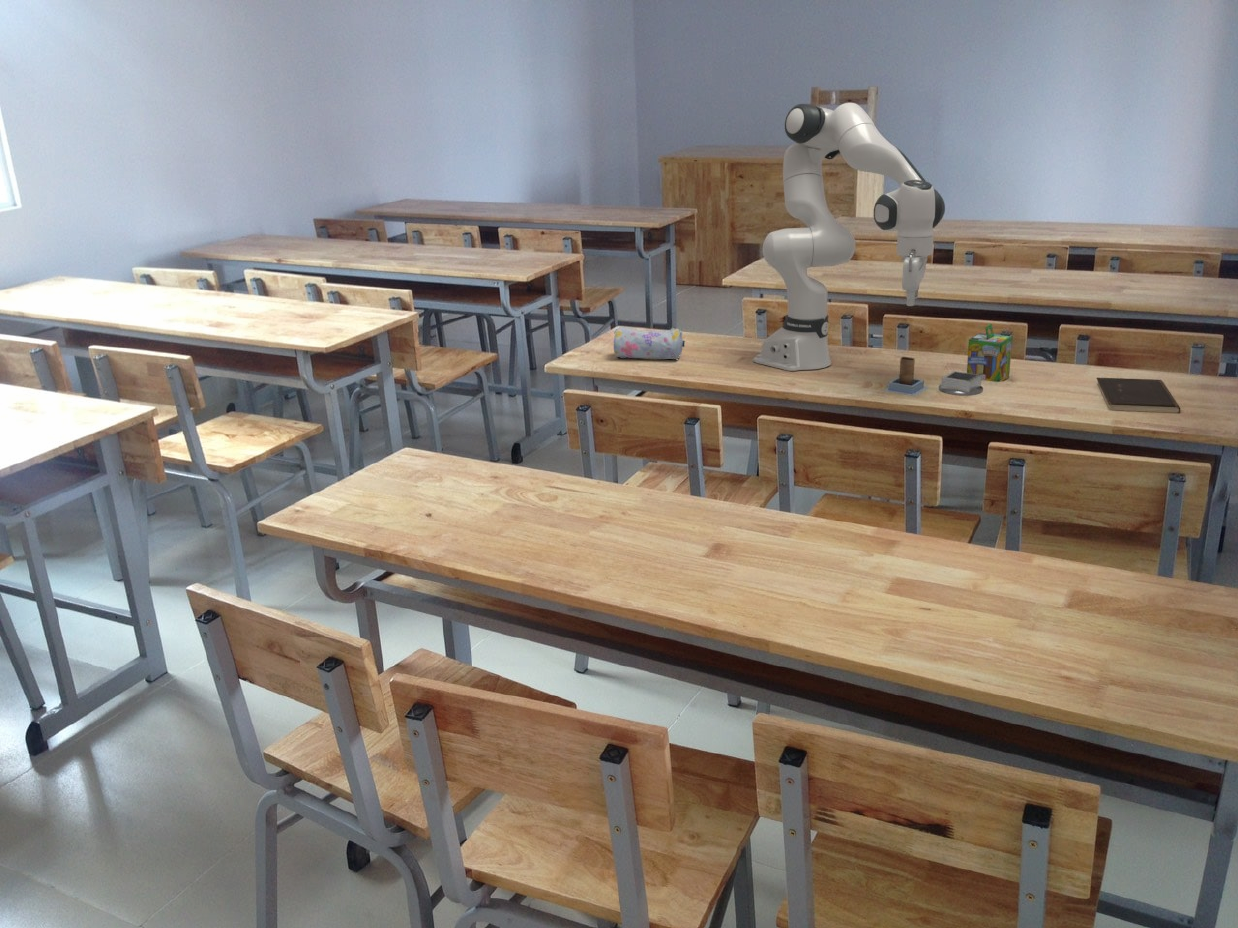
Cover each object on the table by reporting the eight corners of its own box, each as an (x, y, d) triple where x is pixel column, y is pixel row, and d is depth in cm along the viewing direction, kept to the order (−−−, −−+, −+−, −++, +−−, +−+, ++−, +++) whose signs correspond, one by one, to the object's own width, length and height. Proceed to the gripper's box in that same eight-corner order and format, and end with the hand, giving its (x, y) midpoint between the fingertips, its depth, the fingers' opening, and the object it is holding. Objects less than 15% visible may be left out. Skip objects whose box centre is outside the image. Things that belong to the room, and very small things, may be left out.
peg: (896, 389, 283) (898, 358, 280) (902, 386, 286) (904, 355, 283) (909, 391, 281) (911, 360, 278) (915, 388, 284) (917, 357, 281)
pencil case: (685, 356, 327) (684, 325, 324) (680, 363, 319) (679, 332, 316) (618, 354, 332) (616, 324, 328) (611, 362, 324) (610, 331, 320)
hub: (931, 394, 281) (932, 378, 279) (948, 384, 289) (950, 368, 287) (972, 401, 274) (974, 384, 273) (989, 391, 282) (990, 374, 281)
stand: (881, 394, 283) (882, 383, 282) (897, 385, 290) (897, 374, 289) (914, 399, 278) (914, 388, 277) (929, 390, 284) (929, 379, 283)
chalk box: (998, 385, 286) (1003, 331, 281) (964, 380, 292) (969, 327, 287) (1010, 377, 293) (1015, 323, 288) (977, 372, 299) (981, 320, 293)
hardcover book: (1107, 412, 264) (1108, 403, 264) (1095, 385, 285) (1096, 377, 284) (1179, 415, 260) (1181, 406, 259) (1162, 388, 281) (1163, 379, 280)
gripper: (924, 253, 261) (921, 310, 266) (931, 242, 279) (928, 295, 284) (897, 253, 263) (895, 309, 268) (906, 241, 281) (903, 294, 286)
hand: (912, 302), depth 276 cm, fingers open, 8 cm apart
